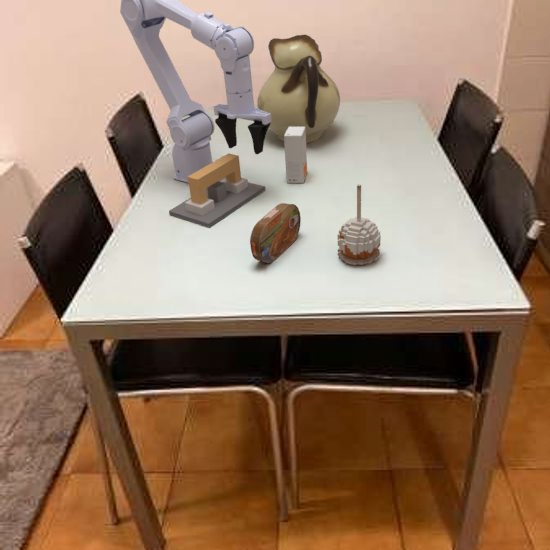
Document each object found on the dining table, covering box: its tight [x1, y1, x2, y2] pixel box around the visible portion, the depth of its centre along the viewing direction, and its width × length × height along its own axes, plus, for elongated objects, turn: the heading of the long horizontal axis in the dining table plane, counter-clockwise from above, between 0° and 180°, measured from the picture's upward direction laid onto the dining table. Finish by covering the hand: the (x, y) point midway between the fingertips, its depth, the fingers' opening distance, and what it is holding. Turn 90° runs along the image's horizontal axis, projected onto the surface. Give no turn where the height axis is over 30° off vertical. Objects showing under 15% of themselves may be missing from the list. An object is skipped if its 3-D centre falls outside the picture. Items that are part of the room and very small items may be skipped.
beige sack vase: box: [256, 34, 341, 144], centre depth 160 cm, size 22×24×25 cm
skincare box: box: [283, 127, 308, 184], centre depth 141 cm, size 6×4×12 cm
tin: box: [249, 202, 302, 264], centre depth 116 cm, size 15×3×8 cm, turn 148°
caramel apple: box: [336, 184, 382, 266], centre depth 110 cm, size 8×8×15 cm
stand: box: [168, 177, 266, 228], centre depth 136 cm, size 12×20×4 cm, turn 144°
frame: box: [187, 153, 242, 205], centre depth 134 cm, size 3×14×6 cm, turn 144°
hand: (245, 149), depth 135 cm, fingers open, 7 cm apart
